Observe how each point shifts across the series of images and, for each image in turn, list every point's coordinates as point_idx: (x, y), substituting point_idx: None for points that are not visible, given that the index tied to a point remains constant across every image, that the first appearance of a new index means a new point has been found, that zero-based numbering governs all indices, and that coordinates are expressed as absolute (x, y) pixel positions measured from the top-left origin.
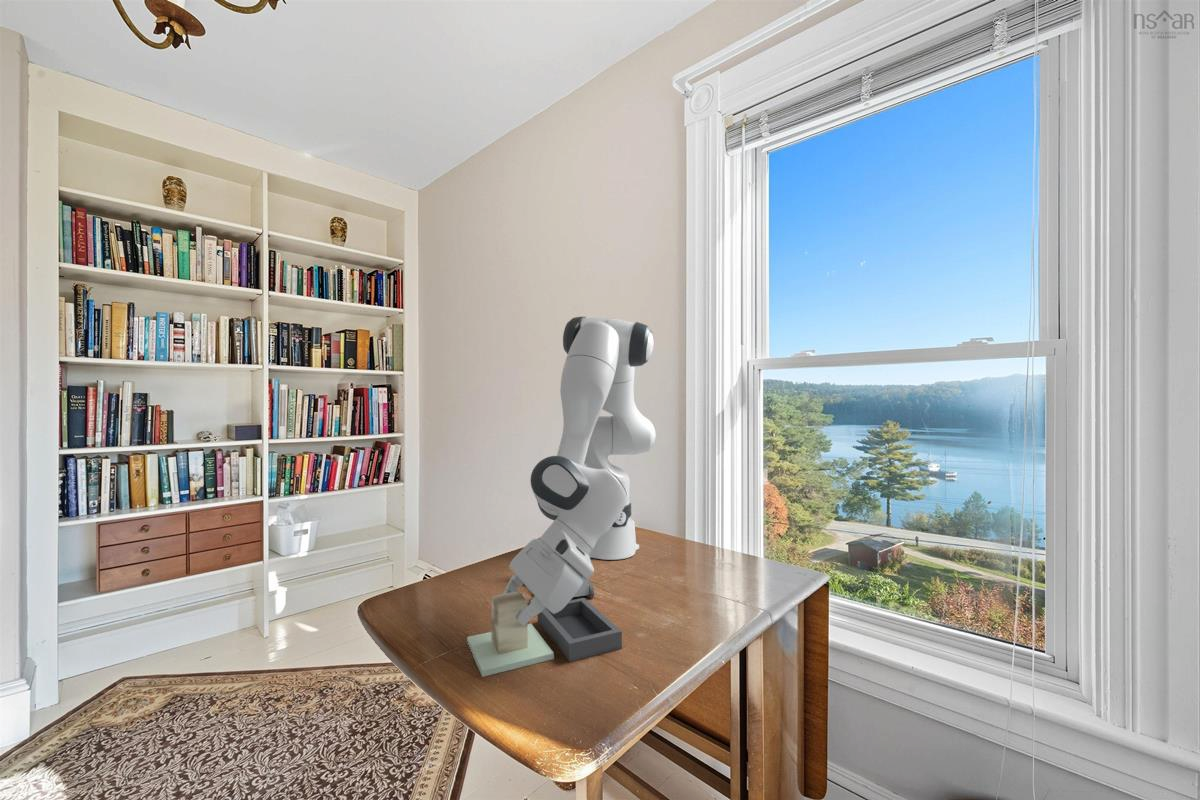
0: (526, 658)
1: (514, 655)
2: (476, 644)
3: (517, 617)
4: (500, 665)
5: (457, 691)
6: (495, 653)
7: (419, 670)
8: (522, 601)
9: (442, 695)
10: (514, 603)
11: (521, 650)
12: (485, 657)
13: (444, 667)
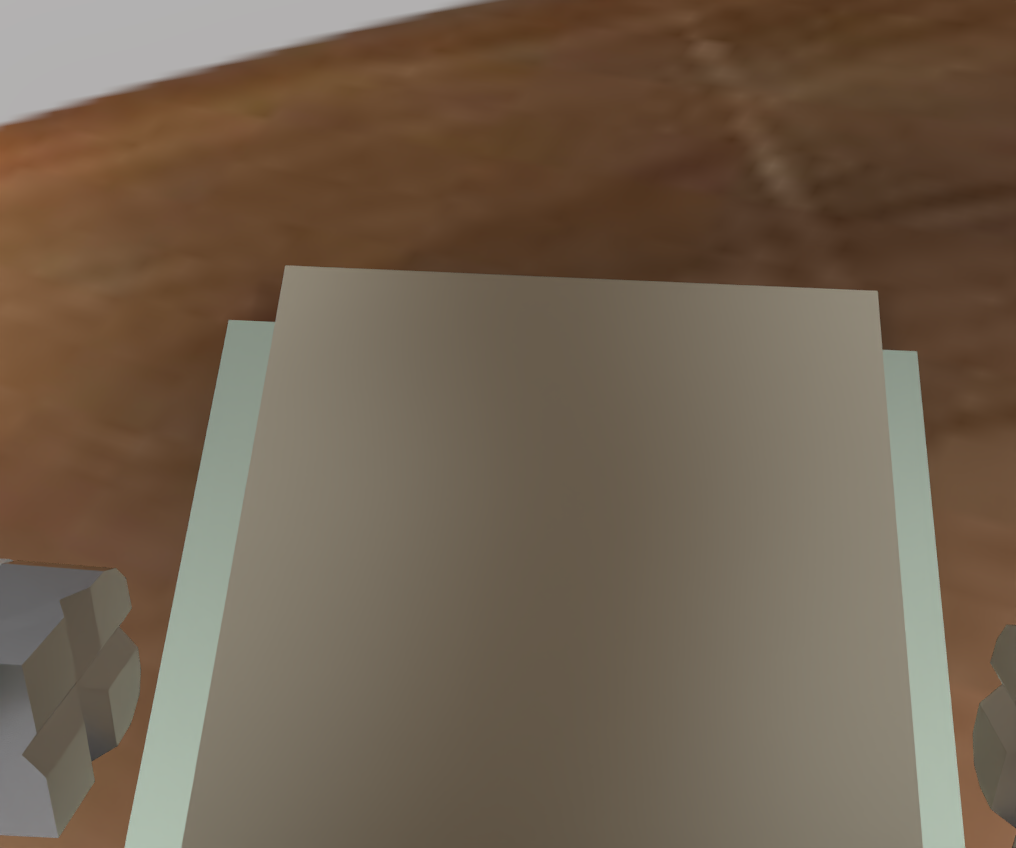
0: (167, 755)
1: None
2: None
3: (13, 565)
4: (211, 478)
5: (182, 159)
6: None
7: (601, 3)
8: (233, 783)
9: (200, 76)
10: (246, 576)
11: None
12: None
13: (552, 143)
